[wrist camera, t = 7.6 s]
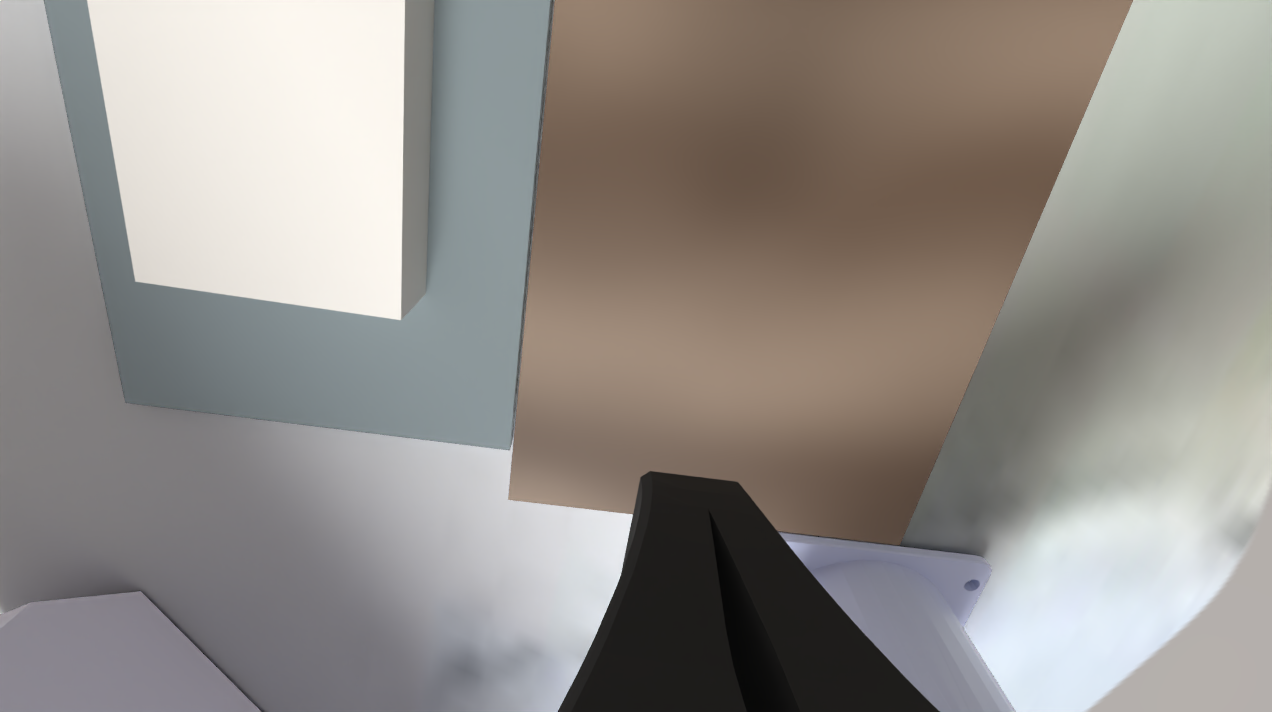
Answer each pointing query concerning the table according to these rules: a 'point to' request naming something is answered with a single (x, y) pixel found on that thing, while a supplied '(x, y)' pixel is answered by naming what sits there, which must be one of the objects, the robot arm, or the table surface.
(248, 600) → the table surface
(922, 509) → the table surface
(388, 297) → the card case
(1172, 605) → the table surface
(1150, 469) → the table surface
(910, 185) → the riser
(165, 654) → the game console
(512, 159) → the mat
